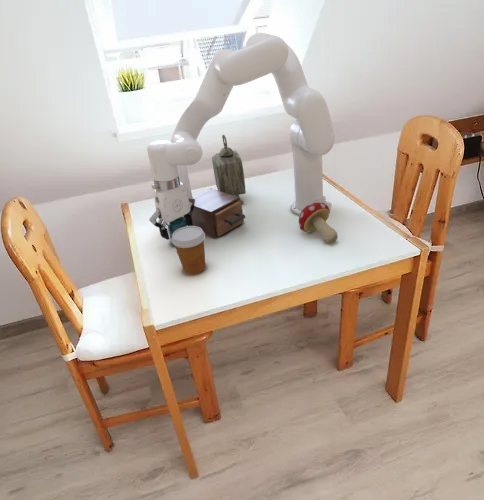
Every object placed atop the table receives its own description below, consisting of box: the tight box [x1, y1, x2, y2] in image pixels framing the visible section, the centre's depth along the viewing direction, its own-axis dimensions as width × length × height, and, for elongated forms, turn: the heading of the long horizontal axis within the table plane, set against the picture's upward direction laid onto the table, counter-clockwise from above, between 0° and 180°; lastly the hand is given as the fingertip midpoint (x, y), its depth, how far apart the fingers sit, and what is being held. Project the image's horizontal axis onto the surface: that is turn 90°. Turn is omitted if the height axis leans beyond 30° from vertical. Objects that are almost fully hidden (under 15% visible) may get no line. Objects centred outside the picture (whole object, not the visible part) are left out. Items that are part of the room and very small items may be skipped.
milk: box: [177, 165, 193, 217], centre depth 156 cm, size 6×6×22 cm
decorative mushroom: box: [298, 202, 339, 244], centre depth 136 cm, size 11×11×15 cm
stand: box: [191, 187, 240, 239], centre depth 149 cm, size 14×13×10 cm
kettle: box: [166, 216, 187, 247], centre depth 141 cm, size 11×6×10 cm, turn 47°
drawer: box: [213, 201, 246, 237], centre depth 146 cm, size 17×11×8 cm
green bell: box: [211, 134, 247, 205], centre depth 160 cm, size 14×9×25 cm, turn 13°
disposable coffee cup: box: [170, 226, 206, 276], centre depth 126 cm, size 10×10×12 cm
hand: (177, 232), depth 141 cm, fingers open, 9 cm apart
